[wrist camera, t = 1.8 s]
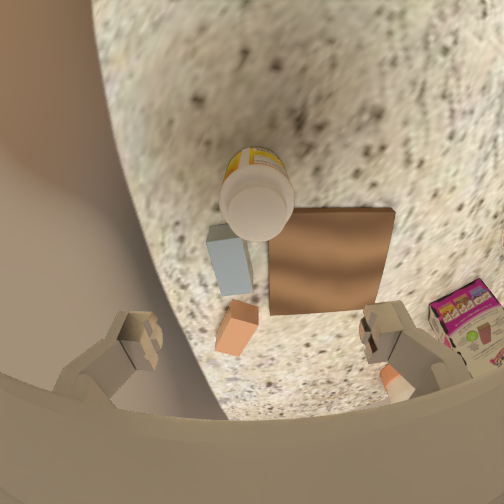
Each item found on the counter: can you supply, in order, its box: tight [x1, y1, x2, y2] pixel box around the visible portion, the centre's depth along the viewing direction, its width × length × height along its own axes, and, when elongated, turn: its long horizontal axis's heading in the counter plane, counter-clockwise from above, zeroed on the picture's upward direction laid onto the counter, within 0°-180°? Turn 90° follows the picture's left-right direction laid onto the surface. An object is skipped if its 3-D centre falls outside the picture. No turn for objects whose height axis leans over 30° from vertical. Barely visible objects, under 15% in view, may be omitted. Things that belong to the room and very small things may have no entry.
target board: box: [268, 208, 396, 316], centre depth 32 cm, size 14×14×1 cm
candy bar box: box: [429, 278, 504, 379], centre depth 29 cm, size 11×5×16 cm, turn 115°
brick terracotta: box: [215, 299, 259, 357], centre depth 36 cm, size 7×4×4 cm, turn 158°
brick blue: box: [206, 224, 253, 296], centre depth 30 cm, size 7×4×4 cm, turn 9°
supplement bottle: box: [219, 147, 295, 242], centre depth 22 cm, size 6×6×10 cm
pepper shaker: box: [381, 364, 415, 404], centre depth 37 cm, size 7×7×19 cm
